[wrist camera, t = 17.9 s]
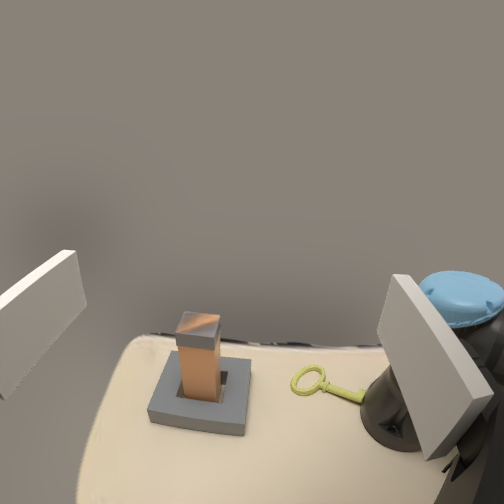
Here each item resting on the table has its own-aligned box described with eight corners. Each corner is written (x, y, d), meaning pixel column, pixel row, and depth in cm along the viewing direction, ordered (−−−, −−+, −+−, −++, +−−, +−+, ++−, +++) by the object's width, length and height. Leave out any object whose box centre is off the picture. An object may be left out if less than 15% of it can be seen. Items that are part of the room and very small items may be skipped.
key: (362, 409, 40) (366, 400, 39) (286, 394, 43) (288, 385, 42) (365, 378, 46) (368, 369, 45) (296, 365, 50) (298, 356, 49)
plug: (221, 388, 43) (220, 315, 38) (217, 410, 39) (214, 337, 34) (192, 384, 44) (184, 311, 38) (185, 406, 39) (175, 332, 34)
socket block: (250, 372, 47) (251, 359, 46) (243, 436, 35) (244, 424, 34) (173, 363, 48) (171, 350, 47) (150, 421, 36) (146, 409, 34)
